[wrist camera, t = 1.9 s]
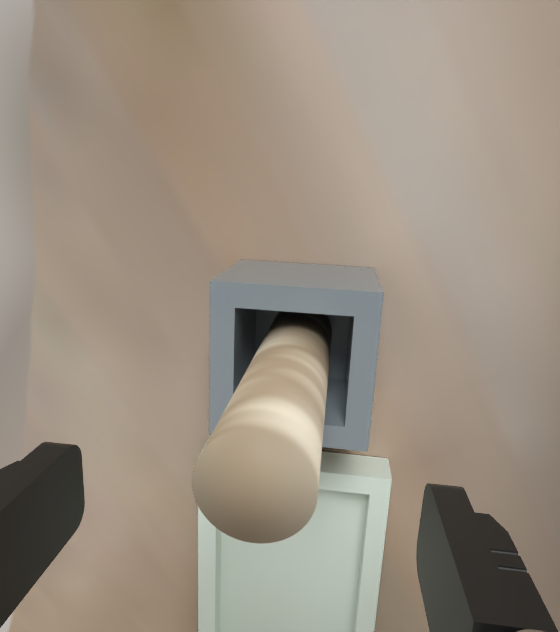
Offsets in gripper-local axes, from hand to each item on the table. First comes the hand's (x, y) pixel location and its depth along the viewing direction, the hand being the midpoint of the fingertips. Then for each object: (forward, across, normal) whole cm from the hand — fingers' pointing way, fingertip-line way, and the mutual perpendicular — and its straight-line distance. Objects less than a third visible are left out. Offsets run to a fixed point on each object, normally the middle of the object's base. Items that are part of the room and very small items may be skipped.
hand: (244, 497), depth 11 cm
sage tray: (+14, 0, +15) cm, 21 cm away
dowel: (+13, 0, 0) cm, 13 cm away
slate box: (+14, 0, 0) cm, 14 cm away
